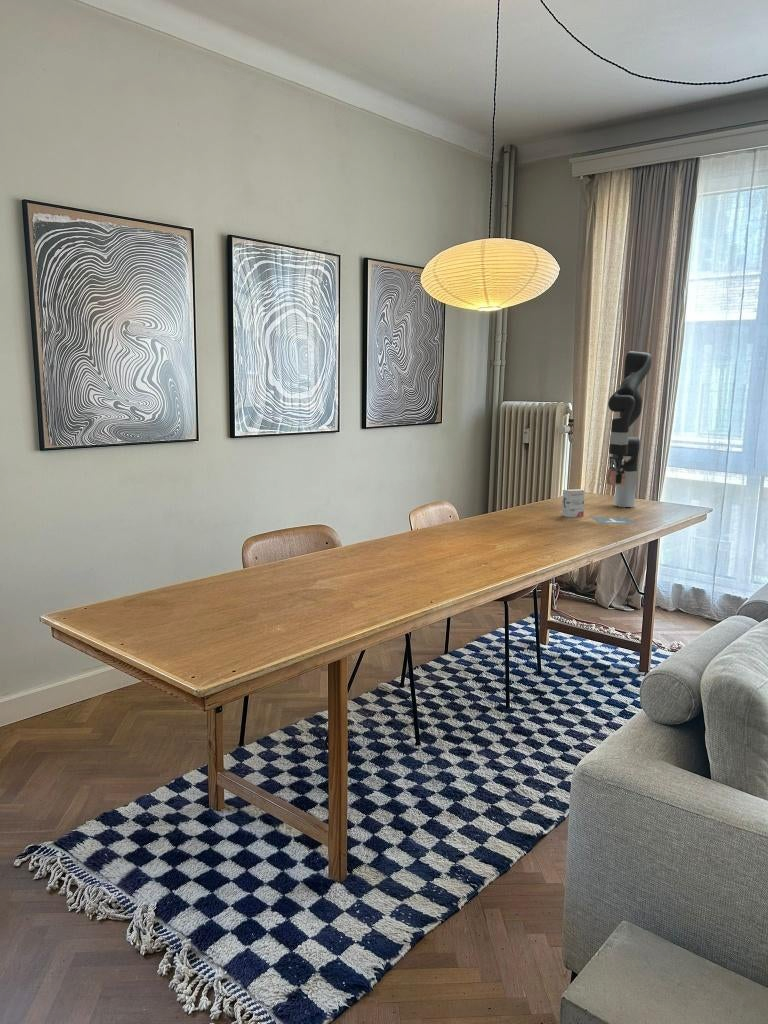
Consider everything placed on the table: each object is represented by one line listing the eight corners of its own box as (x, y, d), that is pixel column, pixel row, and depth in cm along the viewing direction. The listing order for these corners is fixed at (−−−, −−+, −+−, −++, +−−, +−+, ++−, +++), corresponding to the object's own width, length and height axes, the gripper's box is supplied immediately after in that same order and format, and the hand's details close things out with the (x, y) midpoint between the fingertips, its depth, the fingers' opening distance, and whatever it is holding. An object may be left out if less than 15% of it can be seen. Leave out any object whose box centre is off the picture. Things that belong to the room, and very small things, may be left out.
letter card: (589, 517, 339) (589, 516, 339) (625, 517, 340) (625, 517, 339) (600, 524, 323) (600, 523, 323) (638, 525, 324) (638, 524, 324)
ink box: (576, 514, 345) (578, 488, 343) (583, 516, 340) (585, 490, 338) (560, 516, 341) (562, 489, 339) (568, 518, 337) (569, 491, 334)
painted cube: (606, 482, 331) (607, 469, 330) (620, 483, 332) (621, 469, 330) (611, 485, 326) (612, 471, 324) (625, 485, 326) (626, 471, 325)
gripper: (604, 441, 332) (601, 479, 335) (615, 444, 318) (612, 484, 321) (621, 441, 332) (618, 479, 336) (633, 444, 318) (630, 484, 321)
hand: (615, 482), depth 328 cm, fingers closed on painted cube, 6 cm apart
